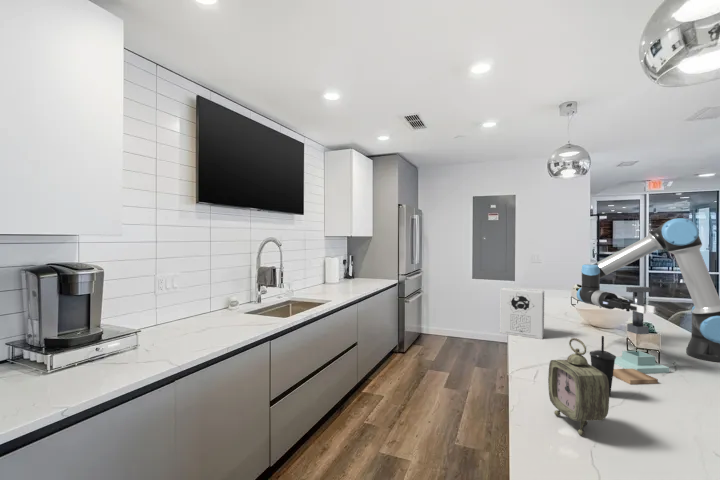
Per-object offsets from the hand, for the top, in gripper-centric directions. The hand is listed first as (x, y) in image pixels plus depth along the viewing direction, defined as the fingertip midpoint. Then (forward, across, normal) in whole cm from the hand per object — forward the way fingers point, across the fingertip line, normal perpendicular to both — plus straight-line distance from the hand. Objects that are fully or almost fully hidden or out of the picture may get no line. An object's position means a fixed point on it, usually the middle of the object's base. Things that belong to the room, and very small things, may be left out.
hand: (649, 310), depth 145 cm
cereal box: (-57, +22, -25) cm, 66 cm away
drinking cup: (+18, +34, -25) cm, 46 cm away
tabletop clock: (+37, +57, -25) cm, 73 cm away
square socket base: (-6, -1, -25) cm, 26 cm away
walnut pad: (+5, +12, -25) cm, 28 cm away
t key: (-5, 0, -10) cm, 12 cm away
